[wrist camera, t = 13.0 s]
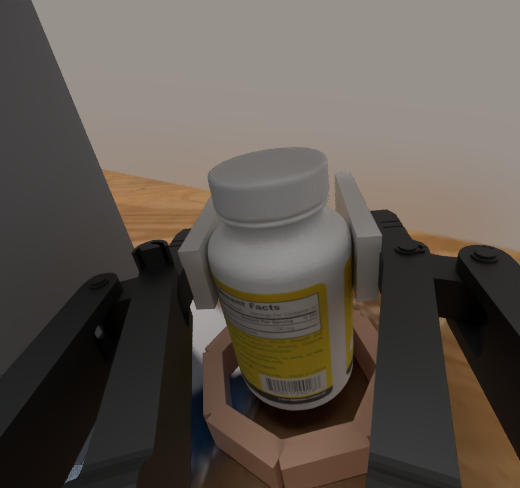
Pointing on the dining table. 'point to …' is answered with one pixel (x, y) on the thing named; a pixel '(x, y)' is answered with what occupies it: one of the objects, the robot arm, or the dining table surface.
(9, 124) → the grey l-shaped rod
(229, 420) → the socket
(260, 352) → the supplement bottle
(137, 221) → the dining table surface
